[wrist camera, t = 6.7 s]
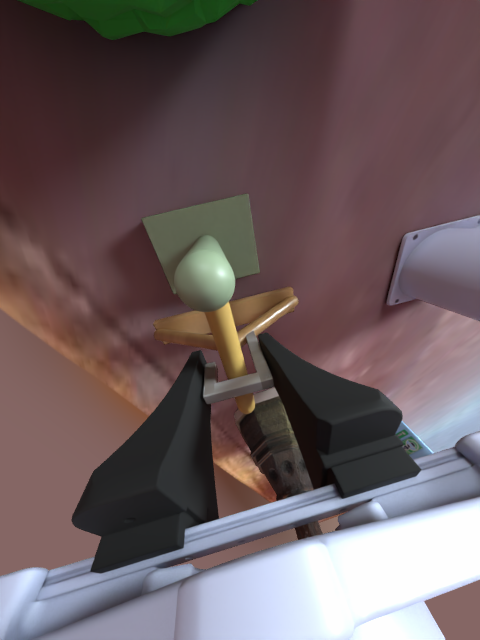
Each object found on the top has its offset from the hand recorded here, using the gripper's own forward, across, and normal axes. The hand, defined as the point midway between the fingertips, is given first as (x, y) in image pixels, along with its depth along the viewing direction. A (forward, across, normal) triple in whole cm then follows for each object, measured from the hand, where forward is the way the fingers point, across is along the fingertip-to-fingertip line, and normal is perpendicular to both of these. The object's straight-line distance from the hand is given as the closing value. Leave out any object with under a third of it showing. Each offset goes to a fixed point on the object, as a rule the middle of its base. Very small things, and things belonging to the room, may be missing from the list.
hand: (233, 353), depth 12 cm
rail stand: (+7, 0, -3) cm, 8 cm away
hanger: (+6, 0, 0) cm, 6 cm away
